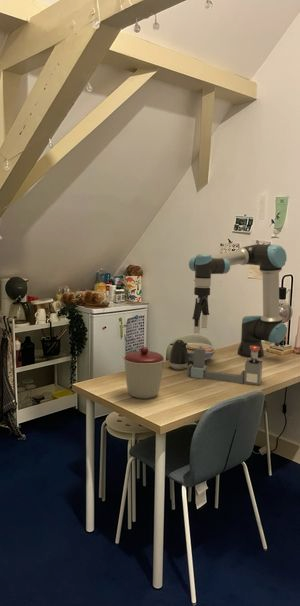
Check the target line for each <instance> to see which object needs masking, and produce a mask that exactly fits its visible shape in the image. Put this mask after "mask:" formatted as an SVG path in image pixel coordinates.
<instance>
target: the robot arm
mask: <svg viewBox="0 0 300 606" xmlns="http://www.w3.org/2000/svg"><path fill="white" fill-rule="evenodd" d="M286 262H287V253H286V250H285V249H284V248H283V247H282V246H281V245H278V244H260V243H259V244H258V243H257V244H251V245H246V246H244V247H243V246H242V247H238V249H236V250H231V251H227V252H226V251H225V252H221V253H215V254H205V253H204V254H203V253H202V254H201V253H199V254H196V256H193V257H191V258H190V259H189V260H188V267H189V269H190V270H191V271H192V272H194V279H193V282H194V290H193V291H194V292H193V293H194V294H193V295H195V296H197V297H196V298H195V302H194V309H193V315H192V320H193V334H200V333H201V329H208V316H210V311H209V301H208V300H209V299H208V298H209V296H210V295H211V282H212V279H211V278H212V275H223V274H228V272H230V270H231V266H236V265H241V266H244V265H245V266H246V265H250V266H259V271H260V272H261V273H262V314H263V315H247V316H243V317H242V322H241V331H240V332H241V334H240V339H241V340H240V344H239V345H238V348H237V354H236V355H238V356H241V357H244V358H248V359H251V350H250V346H251V345H256V346H260V350H258V359H259V358H263V357H264V356H265V352H264V347H263V344H262V342H263V341H265V342H267V343H270V344H279V343H281V342H282V341H283V340H285V338H286V335H287V331H288V328H287V325H286V324H285V323H283V317H281V316H280V272H281V271H282V270H283V267H284V266H285V265H286Z"/></svg>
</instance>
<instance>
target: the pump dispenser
mask: <svg viewBox="0 0 300 606" xmlns="http://www.w3.org/2000/svg"><path fill="white" fill-rule="evenodd" d="M173 343H174V344H173V345H171V346H172V347H171V350H170V353H169V359H168V362H169V364H170V366H171V368H172V369H175V370H184V369H186V368H187V367H188V366H189V365H188V364H189V363H190V361H189V357H188V351H187V347H186V345H187V343H188V342H185V341H184V340H182V339H177V340H175V341H174V342H173Z"/></svg>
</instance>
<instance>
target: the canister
mask: <svg viewBox="0 0 300 606" xmlns="http://www.w3.org/2000/svg"><path fill="white" fill-rule="evenodd" d="M122 360H123V361H124V371H125V372H124V373H125V379H126V380H125V382H126V389H127V392H128V394H129V396H131V397H134V398H137V399H144V400H145V399H151V398H155V397H156V396H157V395H158V394H159V392H160V388H161V384H162V383H161V382H162V375H163V369H164V362H165V360H166V357H165V356H164V355H162V353H159V352H156V351H153V350H151V351H150V350H149V348H148V347H146V346H143V347H142V346H141V347H140V349H139V350H136V351H130V352H128V353H126V354H125V355H124V356H123V357H122Z"/></svg>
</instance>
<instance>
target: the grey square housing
mask: <svg viewBox="0 0 300 606" xmlns="http://www.w3.org/2000/svg"><path fill="white" fill-rule="evenodd" d="M244 371H245V377H244V382H243V384H246V385H252V386H260V384H261V383H262V378H263V377H262V375H263V360H259V359H258V362H257V363H253V362H251V358H248V359H246V361H245V363H244Z"/></svg>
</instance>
